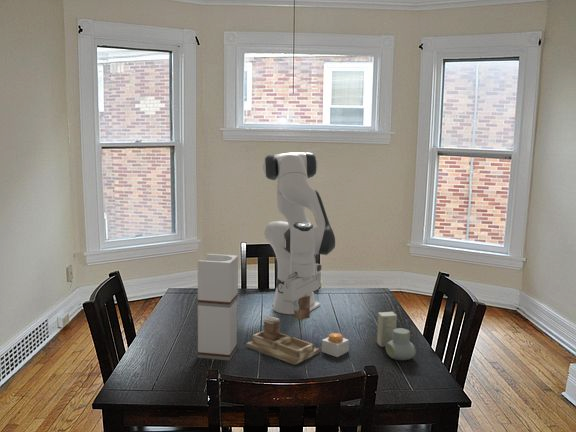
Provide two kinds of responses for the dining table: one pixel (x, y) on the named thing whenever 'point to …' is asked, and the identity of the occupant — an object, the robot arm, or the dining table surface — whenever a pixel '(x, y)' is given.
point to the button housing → (335, 347)
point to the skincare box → (385, 327)
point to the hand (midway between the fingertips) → (301, 307)
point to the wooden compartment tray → (281, 344)
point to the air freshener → (400, 345)
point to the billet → (303, 307)
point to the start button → (335, 337)
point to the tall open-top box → (217, 306)
